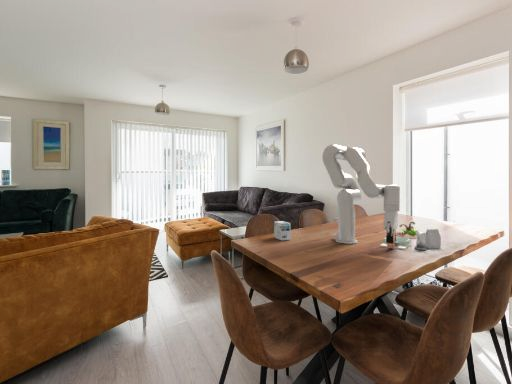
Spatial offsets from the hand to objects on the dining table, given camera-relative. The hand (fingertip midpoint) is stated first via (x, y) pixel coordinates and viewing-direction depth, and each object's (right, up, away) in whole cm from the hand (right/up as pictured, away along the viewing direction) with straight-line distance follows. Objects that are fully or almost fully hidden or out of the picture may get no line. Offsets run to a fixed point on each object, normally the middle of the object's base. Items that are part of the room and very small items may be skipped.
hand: (391, 241), depth 139 cm
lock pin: (+4, -3, +4) cm, 6 cm away
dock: (+7, -4, +8) cm, 11 cm away
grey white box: (+25, -4, +4) cm, 26 cm away
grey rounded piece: (+16, -4, 0) cm, 16 cm away
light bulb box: (-55, -4, +28) cm, 62 cm away
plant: (+27, -4, +29) cm, 40 cm away
